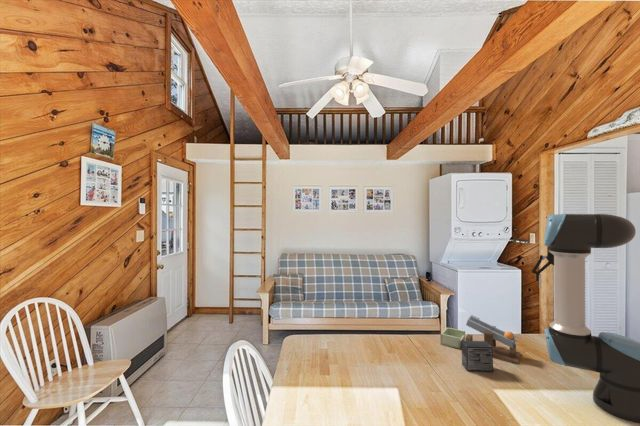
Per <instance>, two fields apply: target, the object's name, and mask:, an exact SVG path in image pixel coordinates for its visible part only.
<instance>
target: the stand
mask: <svg viewBox="0 0 640 426" xmlns="http://www.w3.org/2000/svg"><path fill="white" fill-rule="evenodd" d="M492 326H493V327H495V328H497V326H495V325H492ZM473 337H474V336H473V334H469V333H468V334H467V335H465V341H474V339H473ZM483 337H484V338H483V341H487V342H488V343H489V344H490V345H491V346H492V347H493V359H498V360H502V361H506V362H510V363H514V364H519V363H520V358H521V352H519V351H517V344H516V343H515V344H514V347H513V348H511V347H509V349H507V348H503V347H498V346H497V340H495V339H493V333H490V332H484V334H483ZM460 350H461V351H462V347H461V349H460Z"/></svg>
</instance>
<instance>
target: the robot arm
mask: <svg viewBox="0 0 640 426" xmlns="http://www.w3.org/2000/svg"><path fill="white" fill-rule="evenodd" d="M545 224H546V225H545V231H544V237H543V239H544V240H543V245H544V246H545V247H547V248H546V250H547V254H546V255H543V254H540V255H539V260H538V261H537V262H536V264H535V266H534V267H533V269H532V270H531V273H533V274H535V276H536V277H535V279H536V281H537V282H538V288H539V289H542V274H541V273H543V271H544V270H546V269H547V268H548V267H549V266H550V265H552V266H553V276H554V277H553V279H554V280H553V283H554V284H553V286H554V287H553V289H554V292H553V296H554V298H553V299H554V306H553V307H554V312H553V313H554V315H553V316H554V320H553V321H552V322H549V326H548V327H547V328H544V334H545V341H546V347H547V352H548V358H549V360H550V361H551V362H552V363H554V364H556V365H557V364H558V365H561V366H564V367H570V368H575V369H579V370H584V371H589V372H594V373H599V379H598V381H597V383H596V385H595V386H594V389H593V391H592V400H593V402H594V404H596V406H598V407H599V408H600V409H602V410H603V411H605V412H607V413H608V414H611V415H614V416H616V417H618V418H621V419H624V420H627V421H629V422H635V423H638V424H639V423H640V341H638V340H635V339H633V338H630V337H628V336H625V335H621V334H618V333H613V332H609V331H608V332H607V331H606V332H605V331H602V332H599V334H598V336H595V335H592V330H591V329H589V327H587V326H586V258H587V257H588V256H590V255H591V254H592V249H610V248H611V249H612V248H617V247H621V246H623V245H626V244H628V243H630V242H631V241H632V240H633V239H634V237H635V236H636V231H637V230H636V227H635V225H634V224H633V223H632V222H631V221H630V220H629V219H628V218H626V217H621V216H619V215H613V214H607V213H596V214H595V213H560V214H549V215H547V216H546V223H545ZM545 259H546V260H547V262H546V263H545V264H544V265H543V266H542V267H541V268H539V269H538V267H539V266H540V265H541V263H542V261H545Z"/></svg>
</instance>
